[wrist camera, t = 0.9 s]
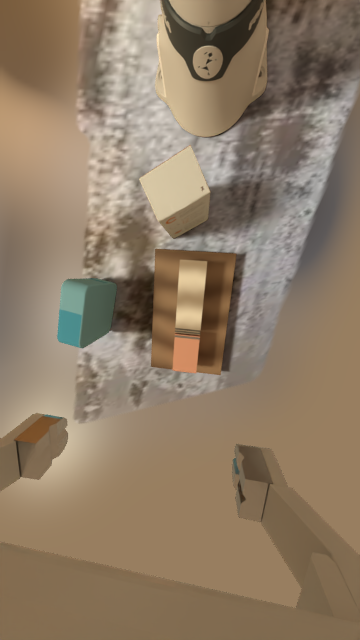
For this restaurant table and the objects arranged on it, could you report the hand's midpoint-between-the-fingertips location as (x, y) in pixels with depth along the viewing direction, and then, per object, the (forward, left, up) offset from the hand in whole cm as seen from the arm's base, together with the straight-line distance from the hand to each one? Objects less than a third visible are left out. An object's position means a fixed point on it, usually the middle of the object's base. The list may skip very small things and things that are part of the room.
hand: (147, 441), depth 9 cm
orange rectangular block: (+8, 0, -32) cm, 33 cm away
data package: (+1, -20, -35) cm, 40 cm away
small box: (-19, -3, -35) cm, 40 cm away
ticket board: (+1, 0, -34) cm, 34 cm away
